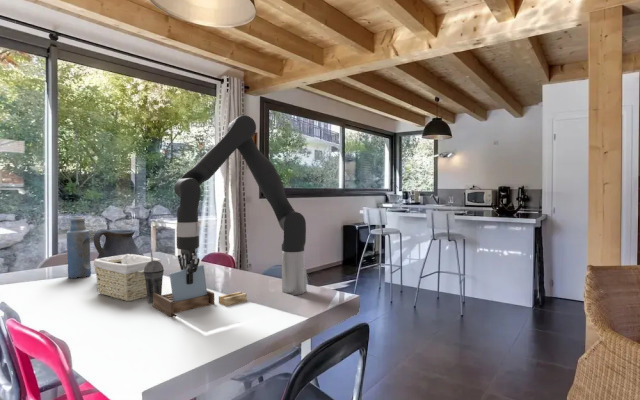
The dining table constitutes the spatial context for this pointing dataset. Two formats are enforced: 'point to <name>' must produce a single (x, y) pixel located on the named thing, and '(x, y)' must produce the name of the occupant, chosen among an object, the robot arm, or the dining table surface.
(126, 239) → the pitcher
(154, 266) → the beverage cup
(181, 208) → the robot arm
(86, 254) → the bottle
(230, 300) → the plate stand
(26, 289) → the dining table surface
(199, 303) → the rack
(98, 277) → the storage basket
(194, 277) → the plate
